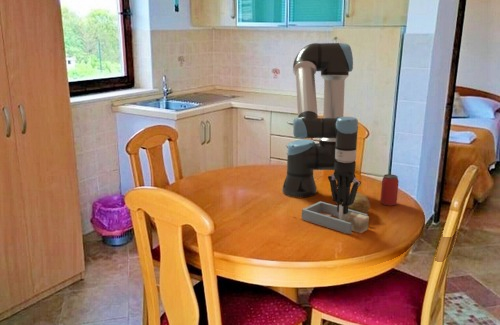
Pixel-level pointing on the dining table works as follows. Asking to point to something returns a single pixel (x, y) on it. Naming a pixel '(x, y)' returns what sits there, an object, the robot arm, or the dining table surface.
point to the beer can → (389, 190)
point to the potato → (360, 203)
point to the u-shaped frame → (327, 216)
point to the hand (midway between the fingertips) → (342, 220)
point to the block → (358, 221)
